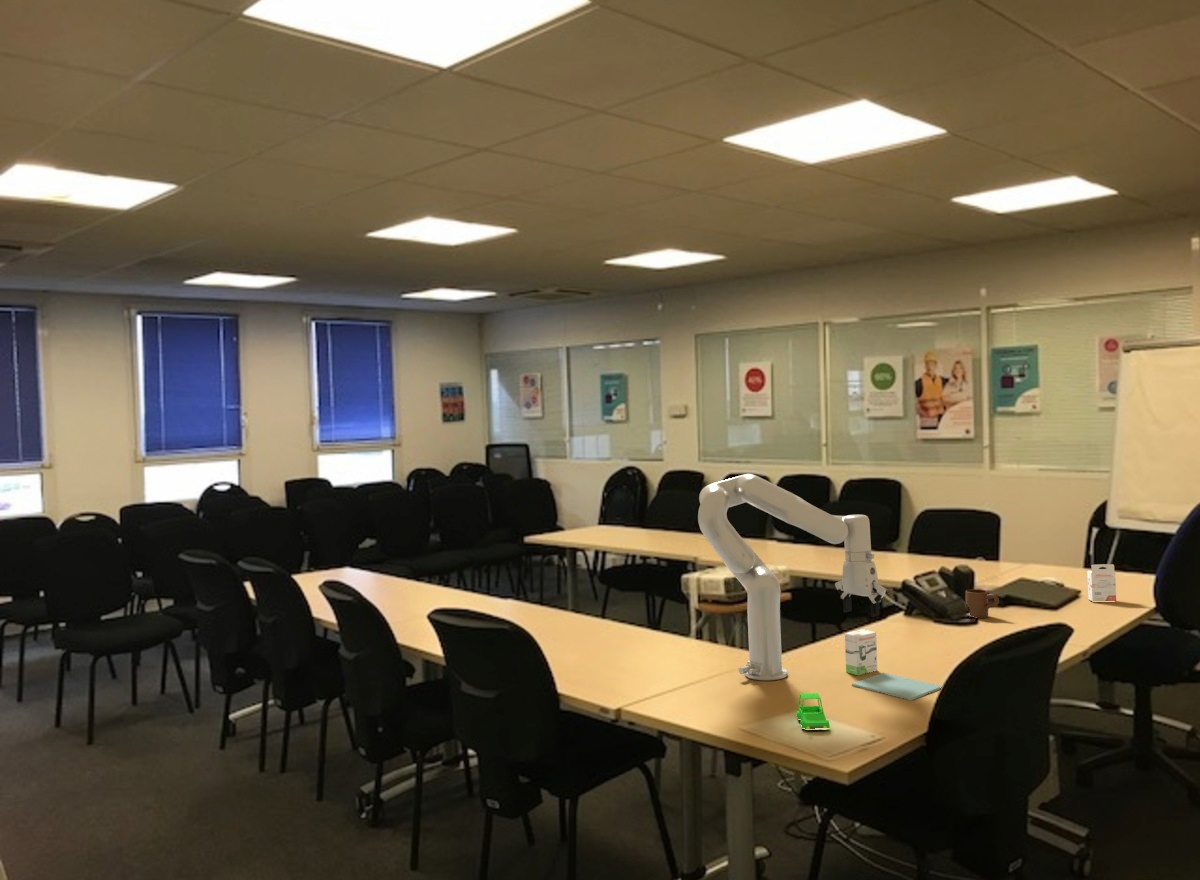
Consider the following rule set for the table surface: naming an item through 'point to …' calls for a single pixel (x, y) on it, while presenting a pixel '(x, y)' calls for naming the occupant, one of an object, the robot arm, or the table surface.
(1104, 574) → the ink cartridge box
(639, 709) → the table surface
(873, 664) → the white cardboard box
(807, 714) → the toy car
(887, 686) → the mat
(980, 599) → the mug
